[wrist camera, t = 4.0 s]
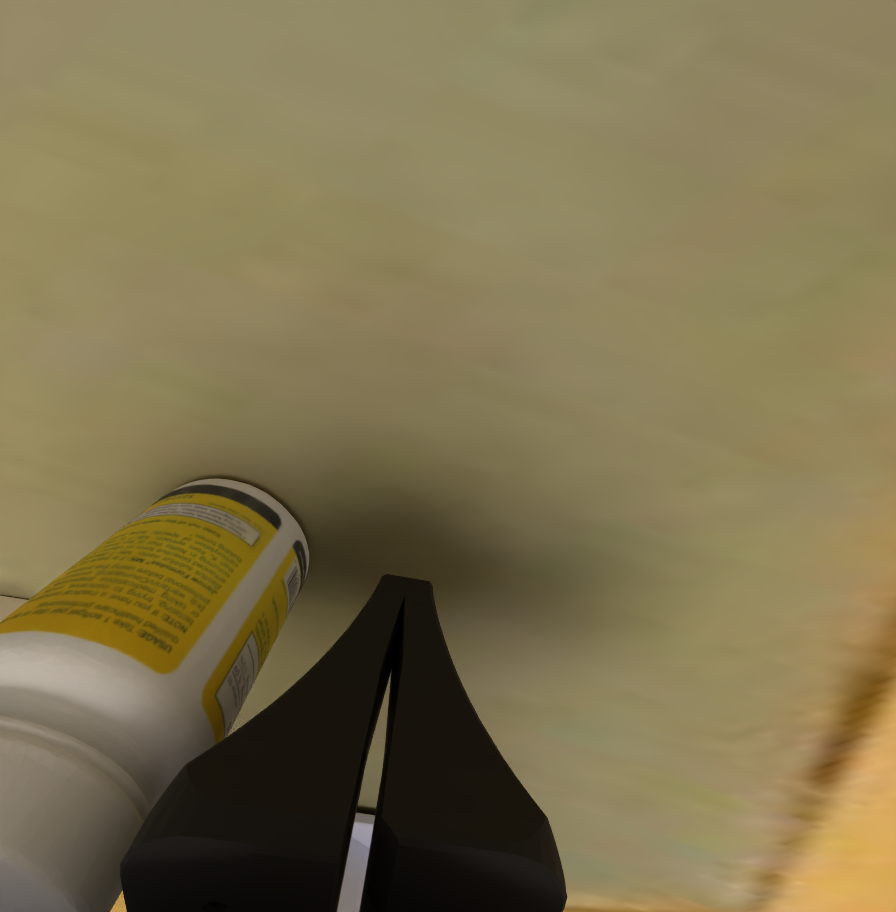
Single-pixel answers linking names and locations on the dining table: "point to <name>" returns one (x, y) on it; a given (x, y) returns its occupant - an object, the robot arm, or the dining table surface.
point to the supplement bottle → (132, 681)
